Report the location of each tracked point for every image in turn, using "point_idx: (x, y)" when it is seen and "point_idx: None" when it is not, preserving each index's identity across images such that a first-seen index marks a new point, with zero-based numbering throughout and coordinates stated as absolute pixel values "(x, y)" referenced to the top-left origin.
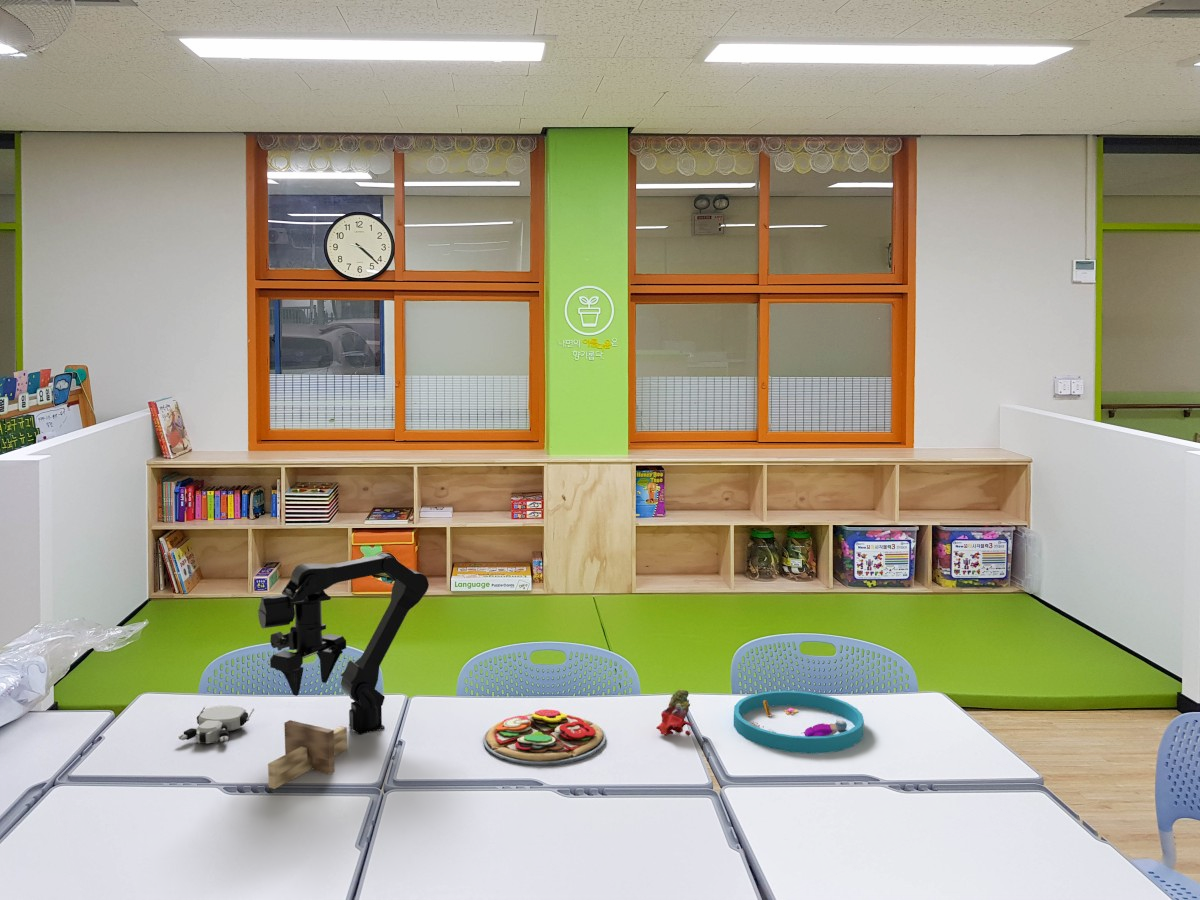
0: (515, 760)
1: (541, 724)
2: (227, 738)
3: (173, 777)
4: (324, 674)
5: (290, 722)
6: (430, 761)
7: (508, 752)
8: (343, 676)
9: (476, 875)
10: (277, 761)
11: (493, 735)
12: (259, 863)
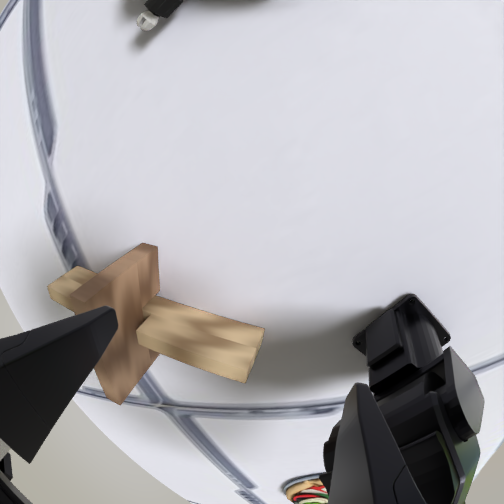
0: (285, 487)
1: None
2: (146, 29)
3: (44, 82)
4: (345, 443)
5: (79, 310)
6: (262, 443)
7: (293, 489)
8: (403, 452)
9: (116, 440)
10: (57, 298)
11: None
12: (30, 323)
